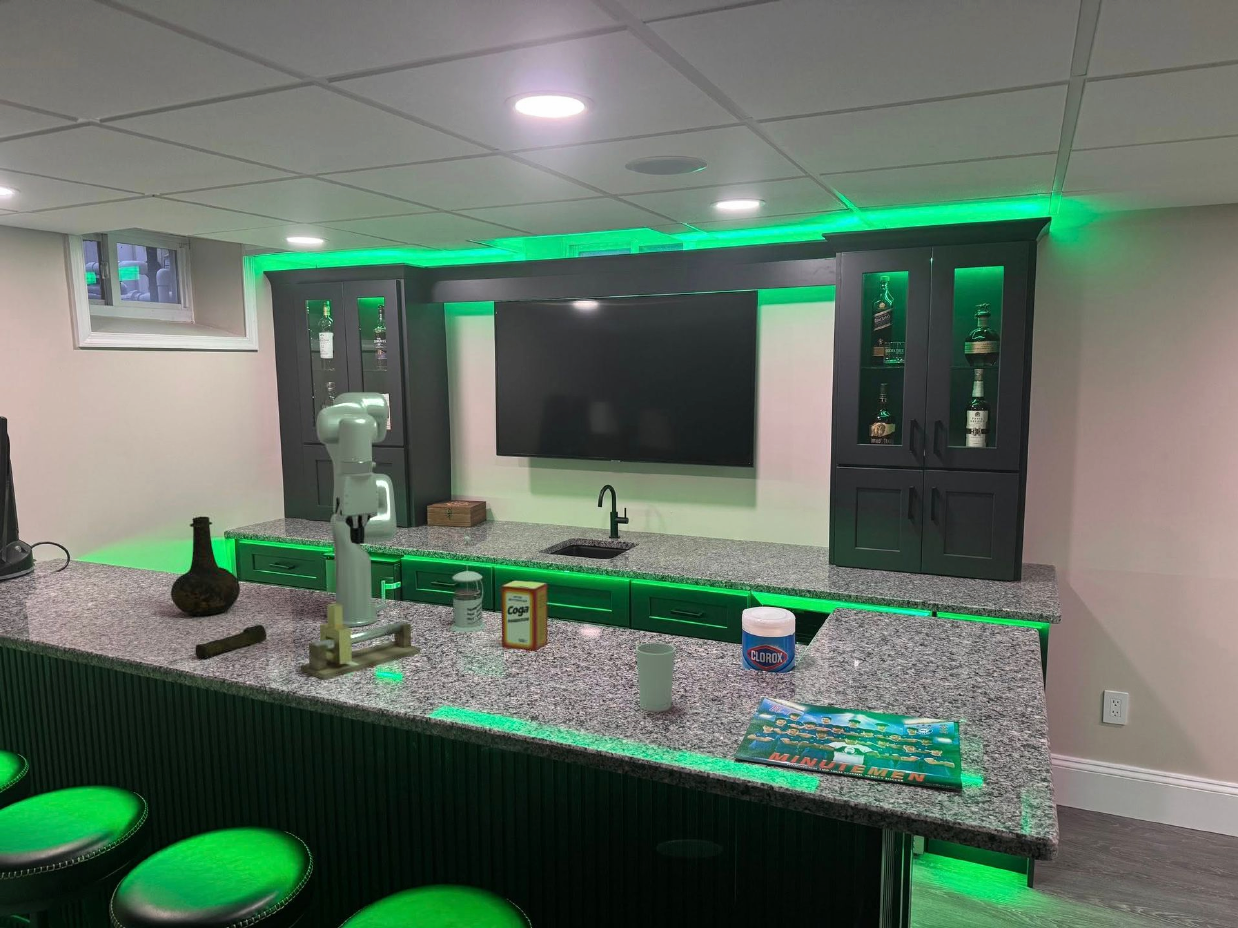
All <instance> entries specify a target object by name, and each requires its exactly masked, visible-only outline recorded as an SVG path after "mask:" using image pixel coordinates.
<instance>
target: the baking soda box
mask: <svg viewBox="0 0 1238 928" xmlns="http://www.w3.org/2000/svg"><path fill="white" fill-rule="evenodd" d="M500 587H501V647H502V648H507V649H515V650H516V649H517V650H524V651H532V652H537V651H539V650H540V649H541V648H543V647H545V646H546V645H548V583H546V582H545V583H544V582H538V581H536V582H535V581H524V580H523V581H522V580H512V581H510V582H507V583H504V584H503V585H501V586H500Z"/></svg>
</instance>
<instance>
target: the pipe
mask: <svg viewBox="0 0 1238 928" xmlns="http://www.w3.org/2000/svg"><path fill="white" fill-rule="evenodd" d="M398 622H399V623H396V622H394V623H395V624H394V623H392V624H391V623H390V624H387V625H384V626H383V625H382V626H379V627H374V628H371V629H366V630H363V631H359V632H354V633H351V646H352V645H356V644H359V643H363V642H366V641H367V642H369V641H370V640H371V641H372V640H376V639H378V638H383V637H387V636H391V635H394V634H395V633H399V632H401V631H402V626H401V625H403V624H406V623H407V622H406V621H402V622H400V621H398ZM315 642H316V643H314V644H315V645H322V644H325V645H326V651H328V650H332V649H334V638H333V639H329V640H325V641H321V642H320V641H315Z"/></svg>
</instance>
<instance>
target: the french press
mask: <svg viewBox="0 0 1238 928" xmlns="http://www.w3.org/2000/svg"><path fill="white" fill-rule="evenodd" d="M470 541H471V537H470V536H467V535H466V536H464V537H463V542H466V545H465V546H466V553H468V542H470ZM468 567H469V566H468V564H466V570H465V571H462V572H458V573H456V574H454V575H453V576H452V577H451V578H452V580H453V581H454V582H459V583H466V588H461V589H457V590H455V591H454V592H453V593H454V595H455V596H453V597H452V598H453V600H452V602H453V603H452V604H453V605H452V607H453V611H452V612H453V618H452V619H453V623H451V625H450V626H449V629H450V630H452V631H454V632H455V631H456V632H463V633H464V632H475V631H480V630H484V629H485V628H486V627H487V625H486V624H485V623H484V622H483V612H482V611H483V608H482V606H483V603H482V601H483V597H484V585H483V582H482V579H483V576H482V575H481V574H479V572H476V571H469V570H468ZM474 582H475V583H474ZM479 582H480V584H481V589H482V590H480V589H479V585H478V584H479ZM468 583H472V585H476V588H469V587H468V586H469V585H468ZM481 593H482V595H480V594H481ZM475 608H476V609H475Z"/></svg>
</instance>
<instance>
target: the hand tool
mask: <svg viewBox="0 0 1238 928" xmlns="http://www.w3.org/2000/svg"><path fill="white" fill-rule="evenodd" d="M266 640H267V630H266V629H265V626H264V625H262V624H257V625H256V624H255V625H252V626H248V627H246V628H243V630H242V632H240V633H236V634H234V635H231V636H230V635H229V636H227V637H223V638H220V639H215V640H213V641H209V642H206V643H201V644H199V643H198V644H196V645H195V648H194V649H195V656H196V658H197V659H198V658H199V659H198V660H202V659H204V660H206V659H207V658H208V659H209V658H211V659H212V656H215V655H218V654H221V653H224V652H227V651H231V650H234V649H237V648H240V647H245V646H246V647H251V645H252V646H255V645H257V643H258V644H259V643H263V641H266Z"/></svg>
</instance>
